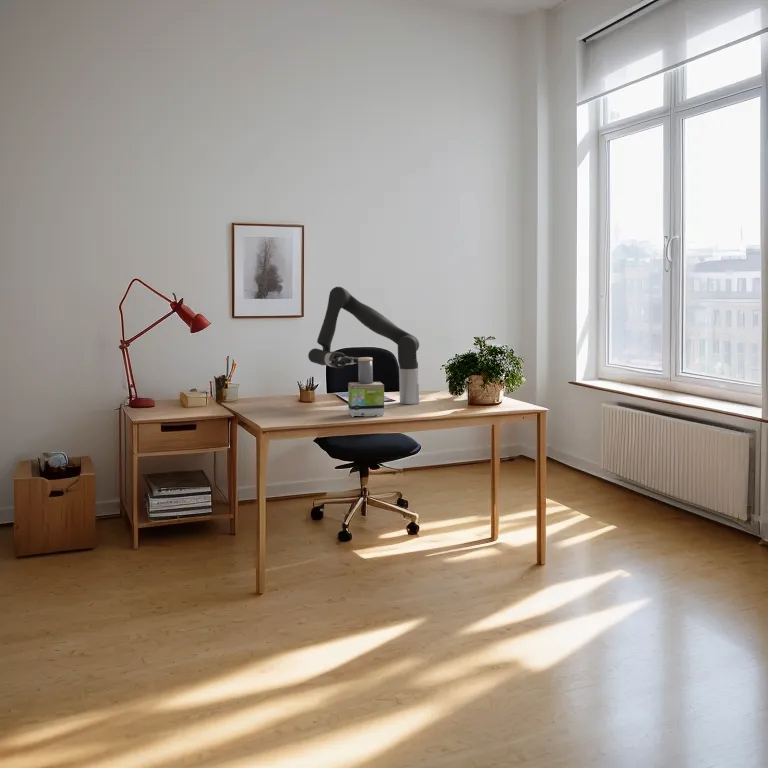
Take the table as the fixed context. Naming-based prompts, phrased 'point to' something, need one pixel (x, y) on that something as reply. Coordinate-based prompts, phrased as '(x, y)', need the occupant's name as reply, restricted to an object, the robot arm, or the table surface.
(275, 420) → the table surface
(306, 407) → the table surface
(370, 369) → the canister
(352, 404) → the tea box
